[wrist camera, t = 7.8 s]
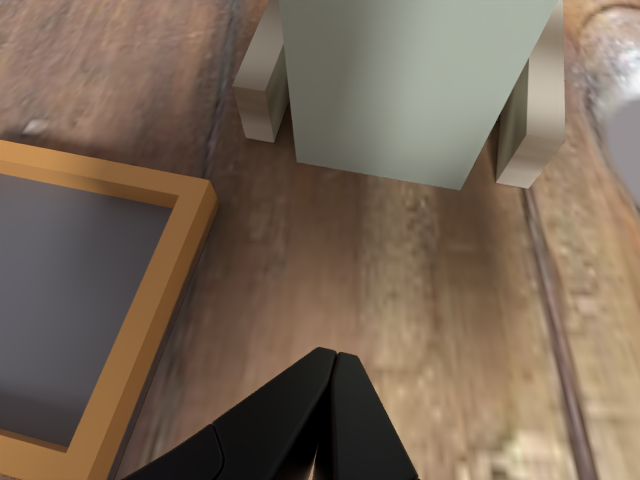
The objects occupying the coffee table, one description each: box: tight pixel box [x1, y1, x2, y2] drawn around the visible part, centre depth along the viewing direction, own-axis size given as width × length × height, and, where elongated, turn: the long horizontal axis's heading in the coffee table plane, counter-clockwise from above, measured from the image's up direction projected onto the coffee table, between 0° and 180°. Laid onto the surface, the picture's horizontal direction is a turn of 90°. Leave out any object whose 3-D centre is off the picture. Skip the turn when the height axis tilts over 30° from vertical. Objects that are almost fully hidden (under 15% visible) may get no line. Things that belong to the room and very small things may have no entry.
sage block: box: [279, 0, 558, 191], centre depth 18 cm, size 8×8×11 cm
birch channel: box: [232, 0, 565, 189], centre depth 22 cm, size 12×14×4 cm
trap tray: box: [0, 140, 220, 480], centre depth 17 cm, size 12×12×2 cm
